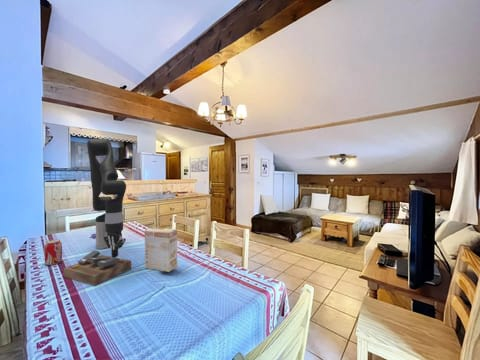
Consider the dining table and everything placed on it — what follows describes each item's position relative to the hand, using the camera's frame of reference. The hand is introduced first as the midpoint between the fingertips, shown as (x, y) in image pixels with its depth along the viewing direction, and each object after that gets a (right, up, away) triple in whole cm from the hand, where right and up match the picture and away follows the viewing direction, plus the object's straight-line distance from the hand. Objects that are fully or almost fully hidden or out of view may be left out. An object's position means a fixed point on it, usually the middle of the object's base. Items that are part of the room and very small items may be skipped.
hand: (114, 256), depth 102 cm
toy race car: (-45, -8, +58) cm, 74 cm away
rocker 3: (-1, -1, -3) cm, 3 cm away
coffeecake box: (+21, -8, +5) cm, 23 cm away
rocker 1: (-14, -1, +2) cm, 14 cm away
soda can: (-40, -8, +11) cm, 42 cm away
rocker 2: (-8, -1, 0) cm, 8 cm away
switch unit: (-8, -8, 0) cm, 11 cm away
